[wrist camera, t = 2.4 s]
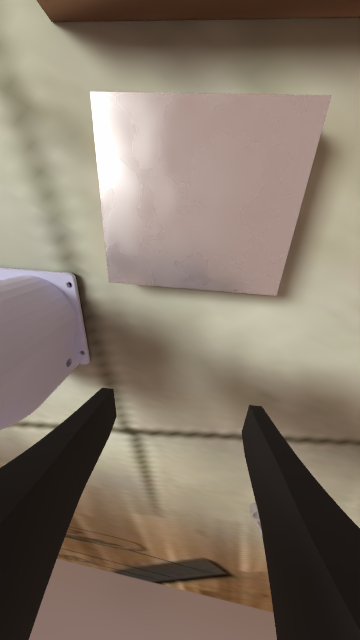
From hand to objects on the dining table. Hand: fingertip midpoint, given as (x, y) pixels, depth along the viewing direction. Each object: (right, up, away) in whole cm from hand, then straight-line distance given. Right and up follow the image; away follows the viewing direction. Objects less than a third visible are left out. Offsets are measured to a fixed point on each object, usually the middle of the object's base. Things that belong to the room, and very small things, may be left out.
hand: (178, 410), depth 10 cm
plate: (+1, +13, +4) cm, 14 cm away
